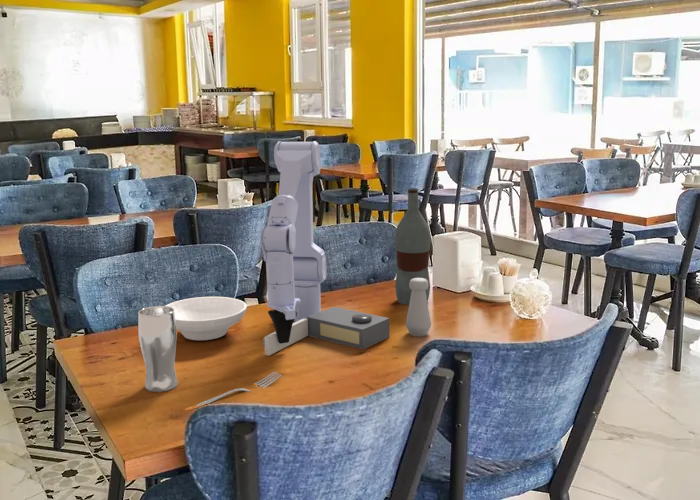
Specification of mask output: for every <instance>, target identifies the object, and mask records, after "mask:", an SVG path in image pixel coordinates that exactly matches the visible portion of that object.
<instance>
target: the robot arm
mask: <svg viewBox="0 0 700 500" xmlns="http://www.w3.org/2000/svg"><path fill="white" fill-rule="evenodd" d="M320 148H321V147H320V143H318V142H317V140H313V141H281V140H279V141H277V143H276V144H275V146H274V149H273V158H274V164H275V166H276V169H277V171H278V172H279V174H280V175H279V184H278V185H279V187H278V195H277V196H275V197H274V198H273V199H272V201H271V204H270V205H271V206H270V210H269V216H268V218H267V219H268V220H267V225H266V227H264V228H262V229H261V234H260V247H261V251H262V253H263V254H262V255H263V257H262V258H263V262H265V267H266V268H265V270H266V286H267V287H266V288H267V302H266V304H267V307H268V308H270V309H272V310H269V311H267V314H268V315H269V317H270V319H271V322H272V325H273V326H274V330H275V331H274V332H276V333H277V338H278V342H279V343H280V344H281V343H288V342H289V339H290V333H291V328H292V324H293V323H295V322H297V321H299V320H301V319H303V318H307V317H308V316H310V315H313V314H316V313H318V312H321V311H322V305H321V304H322V303H321V302H322V301H321V299H322V298H321V297H322V296H321V283H324V281H326V278H327V270H328V269H327V267H328V266H327V260H326V253H325V250H324V249H323V248H321V247H320V246H318V245H317V244H316V243H315V242H314V206H313V205H314V204H313V200H314V199H313V182H314V177H316V176H318V175H320V173H321V170H322V169H321V149H320Z"/></svg>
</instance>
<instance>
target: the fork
mask: <svg viewBox="0 0 700 500" xmlns="http://www.w3.org/2000/svg"><path fill="white" fill-rule="evenodd" d="M280 377H282V374H280V373H278V372H276V371H272V373H270V374H269V375H267V376H265V377H264V378H262V379H260V380H258V381H256V382H254V384H256V386H255V387H258V386H257V385H259V386H261V388H262V387H263V389H266V388H267V387H269V386H271V384H273V383H274V382H275V381H277V380H278V379H279V378H280ZM245 388H246V387H243V388H235V389H232V390H229V391H226V392H225V393H221V394H218V395H217V396H214V397H212V398H210V399H206V400H204V401H201V402H199V404H198V403H196V404H197V405H198V406H200V404H204V403H207V405H209V404H211V403H213V402H215V401H217V400H219V399H221V398H224V397H226V396H229V395H230V394H232V393H235V392H238V391H239V392H241V391H242V392H250V391H249V390H250V389H249V390H247V389H248V388H247V389H245ZM197 405H196V406H197Z"/></svg>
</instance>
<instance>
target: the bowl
mask: <svg viewBox="0 0 700 500" xmlns="http://www.w3.org/2000/svg"><path fill="white" fill-rule="evenodd" d="M165 306H168V307H172V308H173V309H174V314H175V320H176V329H177V331H179V332H180V333H181V334H182V336H183V337H184V338H185V339H187V340H192V341H209V340H214V339H219V338H221V337H223V336H225V335H226V334H227V332H228V331H229V329H230V327H231V326H234V325H236V324H238V323H239V322H240V321H241V320H242V318H243V317H244V315H245V313H246V312H247V303H246V302H245V301H243V300H241V299H237V298H234V297H229V296H228V297H226V296H201V297H200V296H199V297H198V296H197V297H191V298H184V299H181V300H177V301H173V302H170V303H168V304H166V305H165Z"/></svg>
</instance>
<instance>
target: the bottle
mask: <svg viewBox="0 0 700 500" xmlns="http://www.w3.org/2000/svg"><path fill="white" fill-rule="evenodd" d="M407 191H408V192H407V210H406V211H405V213H404V214H403V216H402V217H401V219H400V221H399V223H398V224H397V227H396V231H395V238H394V239H395V240H394V242H395V243H394V244H395V250H396V265H397V267H396V269H397V271H396V276H395V285H394V288H395V296H396V300H397V302H398V303H400V304H402V305H406V306H409V303H410V298H411V292H412V289H410V287H409V283H410V280H411V279H413V278H424V279H426V280H427V281H428V289H426V290H425V292H426V298H427V302H428V301H429V298H430V295H431V293H430V291H431V280H430V274H429V263H430V262H429V261H430V251H431V250H430V248H431V233H430V232H431V230H430V226H429V225H428V223H427V222H426V219H425V218H424V216H423V215H422V213H421V212H420V209H419V189H418V188H417V187H416V188H414V187H412V188H411V187H409V188H408V189H407Z"/></svg>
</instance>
